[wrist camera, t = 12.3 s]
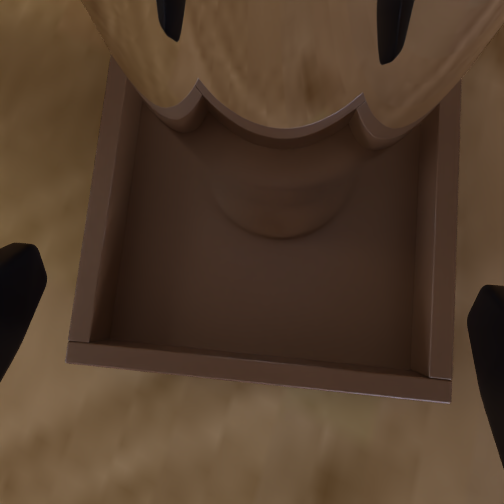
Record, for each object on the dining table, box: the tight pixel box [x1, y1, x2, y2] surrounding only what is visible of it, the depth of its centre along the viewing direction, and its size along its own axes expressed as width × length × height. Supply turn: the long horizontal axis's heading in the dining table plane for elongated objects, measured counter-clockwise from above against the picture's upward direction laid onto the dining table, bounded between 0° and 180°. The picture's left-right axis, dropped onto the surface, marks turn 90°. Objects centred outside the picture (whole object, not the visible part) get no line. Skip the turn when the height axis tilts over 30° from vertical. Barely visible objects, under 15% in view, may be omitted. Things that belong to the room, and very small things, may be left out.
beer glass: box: [81, 0, 504, 238], centre depth 10 cm, size 7×7×15 cm
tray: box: [65, 54, 461, 404], centre depth 17 cm, size 18×14×3 cm
